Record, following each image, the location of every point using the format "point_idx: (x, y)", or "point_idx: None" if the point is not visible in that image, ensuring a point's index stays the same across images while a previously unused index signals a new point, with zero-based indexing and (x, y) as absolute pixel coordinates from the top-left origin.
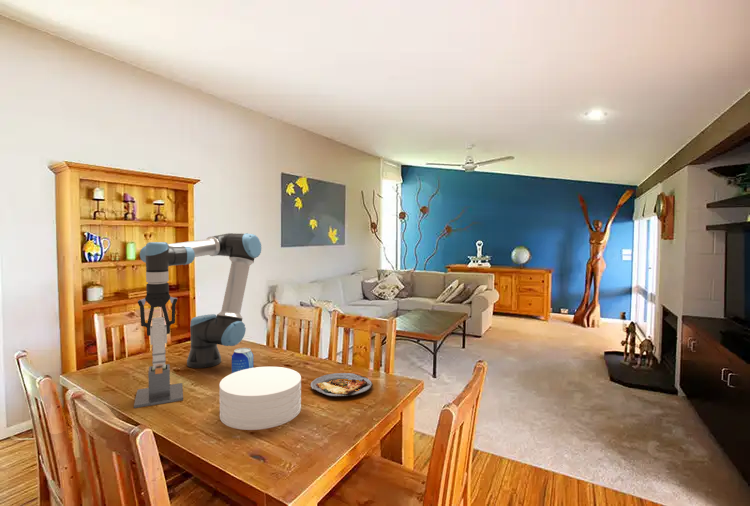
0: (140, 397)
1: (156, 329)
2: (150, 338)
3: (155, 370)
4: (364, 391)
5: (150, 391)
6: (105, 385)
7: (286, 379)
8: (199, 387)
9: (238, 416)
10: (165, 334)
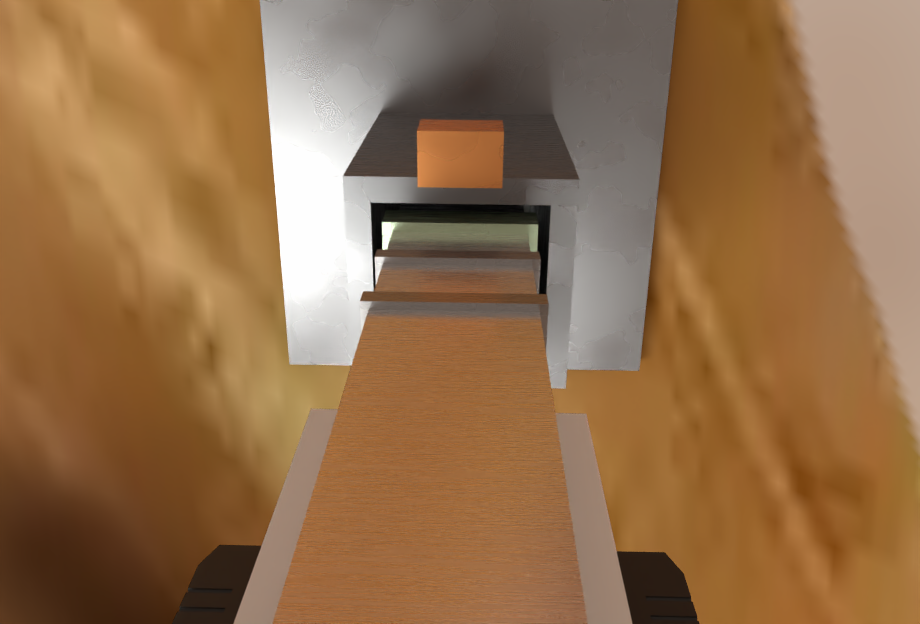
0: (620, 173)
1: (479, 593)
2: (599, 484)
3: (499, 129)
4: None
5: (543, 127)
6: (847, 586)
7: None
8: (146, 246)
9: None
10: (296, 514)
